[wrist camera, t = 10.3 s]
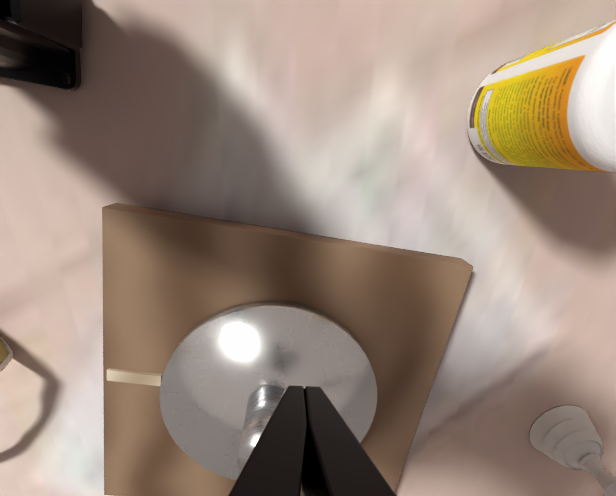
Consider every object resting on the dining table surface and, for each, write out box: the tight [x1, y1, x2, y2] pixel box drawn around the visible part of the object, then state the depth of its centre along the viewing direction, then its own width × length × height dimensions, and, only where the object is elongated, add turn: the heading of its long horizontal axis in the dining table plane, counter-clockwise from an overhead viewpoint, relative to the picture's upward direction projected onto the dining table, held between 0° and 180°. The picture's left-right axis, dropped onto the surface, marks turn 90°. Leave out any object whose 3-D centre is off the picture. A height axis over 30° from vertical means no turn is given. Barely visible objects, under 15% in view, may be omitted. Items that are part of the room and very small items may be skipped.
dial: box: [159, 300, 377, 480], centre depth 20 cm, size 17×14×5 cm
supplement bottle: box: [467, 20, 616, 173], centre depth 14 cm, size 6×6×10 cm
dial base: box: [102, 203, 473, 496], centre depth 23 cm, size 22×22×2 cm
